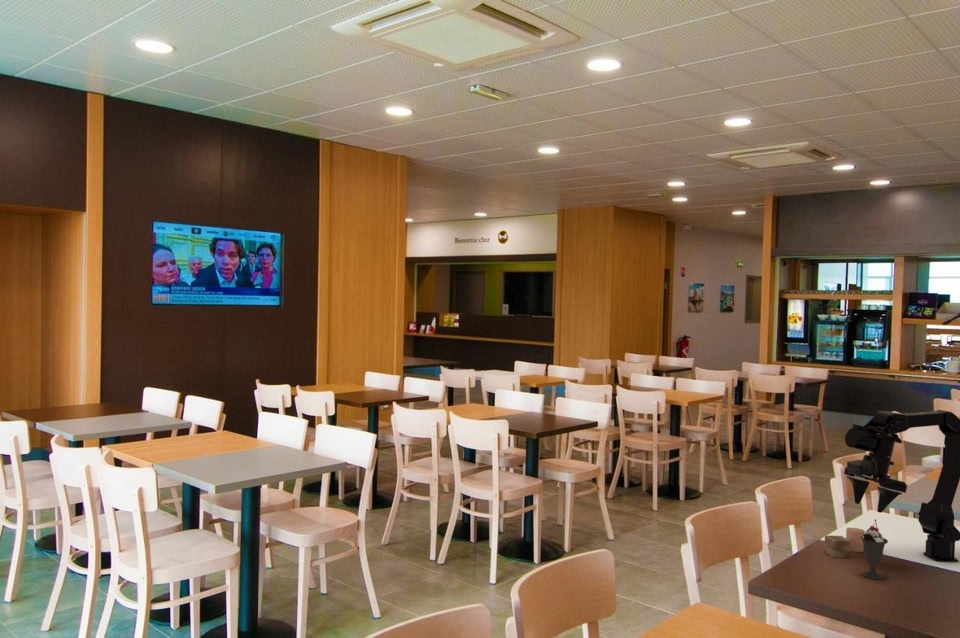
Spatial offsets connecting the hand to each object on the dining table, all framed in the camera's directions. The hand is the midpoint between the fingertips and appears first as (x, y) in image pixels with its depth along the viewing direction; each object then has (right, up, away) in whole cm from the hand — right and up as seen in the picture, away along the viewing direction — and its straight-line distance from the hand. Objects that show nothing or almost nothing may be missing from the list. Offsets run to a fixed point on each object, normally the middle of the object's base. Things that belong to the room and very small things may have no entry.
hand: (867, 507), depth 208 cm
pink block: (+1, -15, +10) cm, 18 cm away
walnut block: (-6, -15, +5) cm, 17 cm away
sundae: (-5, -15, -12) cm, 20 cm away
